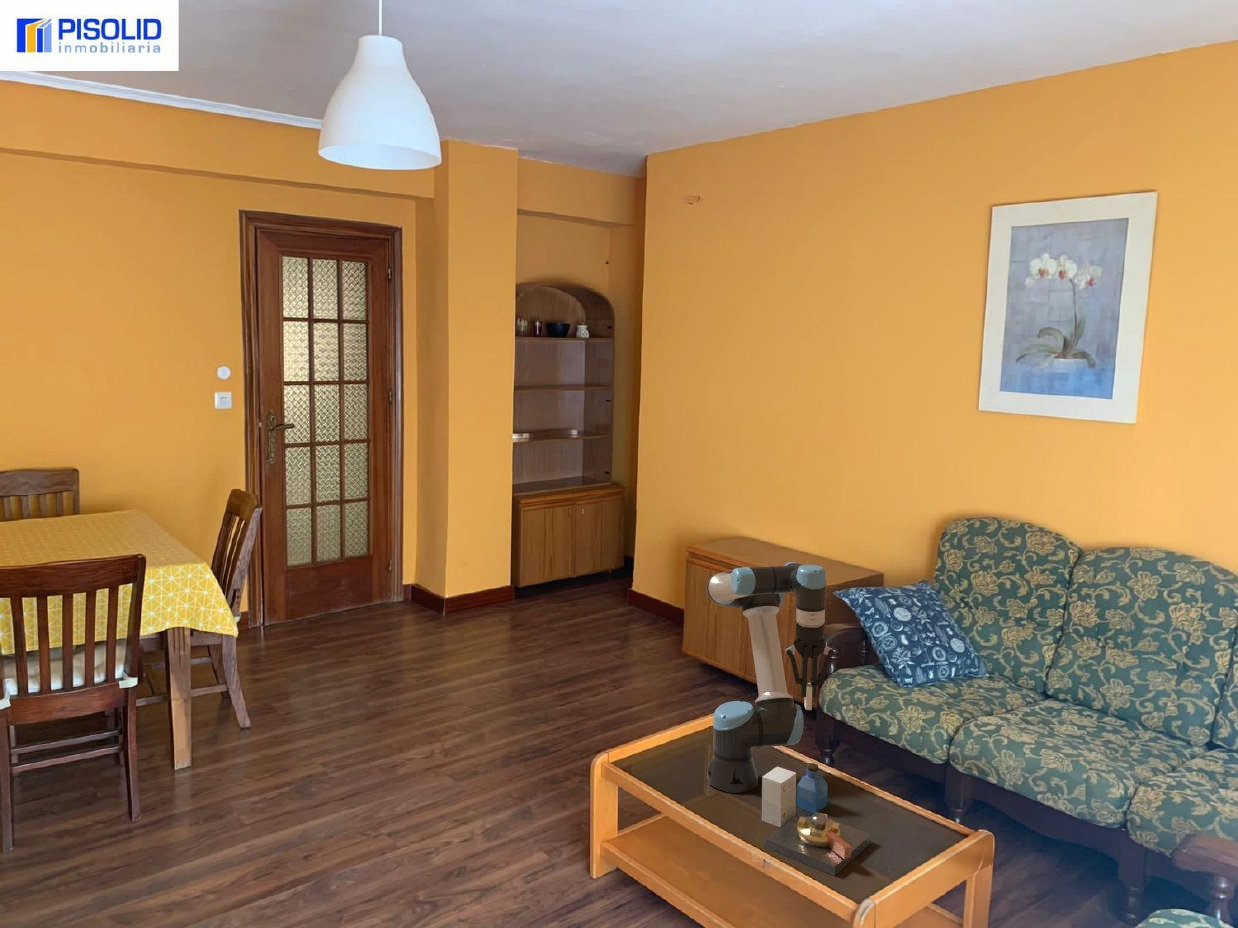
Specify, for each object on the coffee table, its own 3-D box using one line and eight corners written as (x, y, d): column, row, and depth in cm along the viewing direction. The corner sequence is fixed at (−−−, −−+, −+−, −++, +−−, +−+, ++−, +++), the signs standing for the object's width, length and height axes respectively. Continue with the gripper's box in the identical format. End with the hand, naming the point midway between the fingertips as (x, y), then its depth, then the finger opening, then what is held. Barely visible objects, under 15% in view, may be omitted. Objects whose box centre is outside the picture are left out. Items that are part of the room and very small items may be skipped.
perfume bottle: (827, 805, 264) (828, 765, 263) (815, 813, 260) (816, 772, 258) (808, 797, 268) (809, 758, 267) (796, 805, 264) (797, 765, 262)
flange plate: (764, 847, 242) (765, 818, 241) (803, 817, 257) (804, 790, 256) (834, 876, 229) (835, 846, 228) (871, 843, 244) (872, 814, 243)
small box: (776, 809, 262) (777, 765, 260) (796, 816, 258) (797, 772, 256) (760, 820, 256) (761, 775, 254) (781, 828, 252) (782, 783, 250)
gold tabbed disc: (788, 830, 246) (788, 817, 245) (822, 821, 250) (823, 808, 250) (829, 863, 230) (830, 850, 229) (865, 853, 234) (865, 840, 234)
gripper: (788, 627, 245) (786, 713, 248) (837, 627, 245) (835, 713, 248) (783, 619, 252) (781, 702, 255) (831, 619, 252) (829, 702, 255)
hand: (808, 707), depth 252 cm, fingers closed
